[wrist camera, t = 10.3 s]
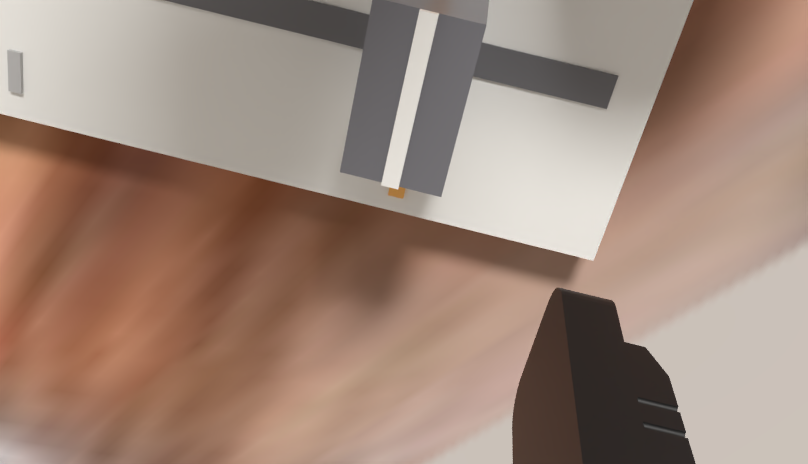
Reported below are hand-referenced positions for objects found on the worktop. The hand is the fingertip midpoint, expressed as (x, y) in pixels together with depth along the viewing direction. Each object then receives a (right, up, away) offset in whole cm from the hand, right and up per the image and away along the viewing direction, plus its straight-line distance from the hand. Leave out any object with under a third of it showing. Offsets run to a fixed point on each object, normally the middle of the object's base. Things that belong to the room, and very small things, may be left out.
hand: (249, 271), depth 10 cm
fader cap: (+3, +7, +16) cm, 17 cm away
